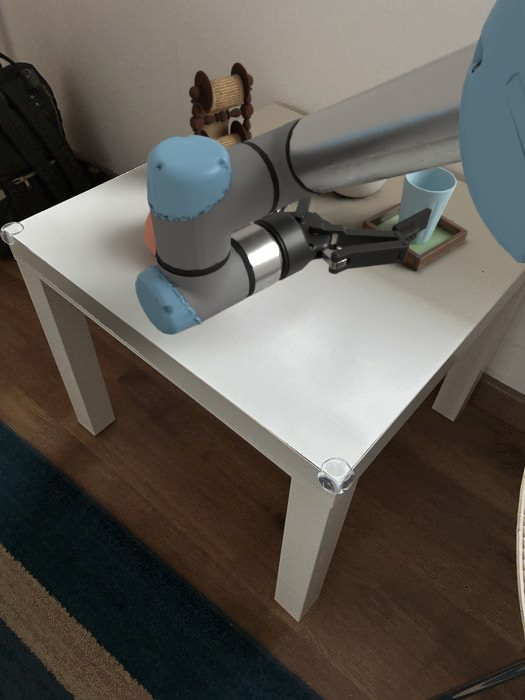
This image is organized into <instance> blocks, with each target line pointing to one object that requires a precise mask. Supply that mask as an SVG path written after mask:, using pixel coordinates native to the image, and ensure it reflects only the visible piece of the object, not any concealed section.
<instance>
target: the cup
mask: <svg viewBox="0 0 525 700" xmlns="http://www.w3.org/2000/svg"><path fill="white" fill-rule="evenodd" d="M457 183H458V182H457V178H456V177H455V175H454V173H452V172H451V171H449V170H448V169H445V168H443V167H442V166H441V167H437V168H432V169H428V170H423V171H419V172H415V173H410V174H406V175H404V178H403V185H402V187H403V188H402V192H401V198H400V202H401V205H400V212H399V219H398V223H399V222H401V221H403V220H404V219H406V218H408V217H410V216H412V215H414V214H416V213H418V212H420V211H422V210H424V209H425V208H427V207H428V208H429V209H431V210H432V212H431V215H430V219H429V222H428V225H427V228H426V229H424V230H422V231H420V232H418V234H417V237H416V239H415V240H413V241H411V242H409V243H411V244H423V243H426V242H427V241H428V240H429V239H430V237H431V235H432V233H433V231H434V229H435V227H436V225H437V223H438V221H439V219H440V217H441V215H442V216H443V212H444V210H445V208H446V206H447V204H448V202H449V200H450V199H451V197H452V194H453V192H454V191H455V189H456V187H457Z"/></svg>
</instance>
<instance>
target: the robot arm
mask: <svg viewBox="0 0 525 700" xmlns="http://www.w3.org/2000/svg"><path fill="white" fill-rule="evenodd" d="M481 28H482V29H481V30H480V35H479V38H478V39H477V40H476V41H474V42H472V43H469V44H467V45H464V46H462V47H460V48H457V49H455V50H453V51H450V52H449V53H446V54H444V55H442V56H439V57H437V58H435V59H432V60H430V61H428V62H426V63H422V64H421V65H419V66H416V67H414V68H411V69H410V70H409V69H408V70H407V71H404V72H403V73H400V74H398V75H396V76H393V77H391V78H389V79H387V80H384V81H382V82H380V83H377V84H375V85H372V86H370V87H368V88H365V89H364V90H361V91H358V92H356V93H355V94H352V95H350V96H347V97H345V98H342V99H340V100H339V101H336V102H334V103H331V104H329V105H327V106H325V107H322V108H320V109H317V110H315V111H313V112H310V113H308V114H307V115H305V116H302V117H299V118H296V119H293V120H292V121H290V122H287V123H284V124H283V125H280V126H278V127H276V128H273V129H271V130H268V131H265V132H263V133H261V134H259V135H256V136H254V137H252V138H251V139H249V140H247V141H244V142H241V143H238V144H235V145H232V146H230V147H227V148H224V147H223V146H222V145H221V144H220V143H219V142H217V141H215V140H213V139H211V138H208V137H204V136H199V135H194V134H189V135H187V136H178V135H176V136H171V137H168V138H166V139H164V140H162V141H160V142H159V143H157V144H156V145H155V146H154V147H153V148H152V149H151V150H150V152H149V154H148V156H147V158H146V176H145V179H146V200H147V204H148V207H149V212H150V213H151V219H152V225H153V231H154V236H155V242H156V253H155V255H154V256H155V264H151V265H149V266H148V267H147V268H146V269H144V270H142V271H140V272H139V273H138V274H137V276H136V280H135V283H134V287H135V288H134V289H135V293H136V296H137V299H138V302H139V304H140V306H141V308H142V310H143V312H144V314H145V316H146V317H147V319H148V320H149V322H150V323H151V324H152V326H154V327H155V328H156V330H157V331H159V332H161V333H162V334H165V335H170V336H172V335H176V334H179V333H181V332H184V331H186V330H188V329H191V328H192V327H195V326H197V325H198V326H199V325H202V324H203V322H205V321H207V320H208V319H210V318H213V317H214V316H217V315H218V314H220V313H222V312H223V311H225V310H226V311H227V309H229V308H232V307H234V306H235V305H237V304H239V303H241V302H243V301H244V300H246V299H248V298H249V297H252V296H254V295H256V294H257V293H260V292H262V291H264V290H265V289H267V288H270V287H271V286H274V285H275V284H276V283H277V282H279V281H284V280H285V279H287V278H289V277H291V276H292V275H295V274H296V273H299V272H300V271H302V270H303V269H305V267H306V266H307V265H309V264H310V263H311V262H312V261H315V260H316V261H317V260H323V261H324V262H325V263H326V264H327V265H328V270H327V271H328V272H329V274H332V275H337V274H339V273H341V272H344V271H347V270H350V269H360V268H367V267H376V266H384V265H392V264H402V263H404V262H405V259H406V256H407V253H408V250H409V246H410V243H409V242H411V241H413V240H415V239H416V237H417V234H418V232H420V231H422V230H424V229H426V228H427V225H428V222H429V219H430V215H431V212H432V210H431V209H429V208H428V207H427V208H425V209H424V210H422V211H420V212H418V213H416V214H414V215H412V216H410V217H408V218H406V219H404V220H403V221H401V222H399V223H397V224H395V225H393V227H392V231H390V230H368V229H362V228H347V227H345V226H344V225H343V224H337V223H336V224H333V223H331V222H330V221H328V220H326V219H324V218H322V217H321V215H320V214H318V212H316V211H314V212H311V211H309V210H310V205H311V200H312V197H319V196H322V195H324V194H327V193H331V192H335V191H336V190H340V189H344V188H349V187H353V186H357V185H362V184H366V183H371V182H375V181H379V180H384V179H386V180H388V179H392V178H393V179H394V178H397V177H401V176H405V175H406V174H410V173H415V172H419V171H423V170H428V169H432V168H437V167H441V168H442V167H445V166H449V165H453V164H458V163H461V165H462V171H463V175H464V180H465V183H466V186H467V190H468V193H469V195H470V198H471V200H472V202H473V205H474V207H475V210H476V212H477V213H478V215H479V217H480V219H481V220H482V222H483V224H484V225H485V227H486V228H487V230H488V231H489V233H490V234H491V236H492V237H493V239H494V240H495V241H496V242H497V243H498V244H499V246H500V247H501V248H502V249H503V250H504V251H505V252H506V253H507V254H508V255H509V256H510V257H512V258H513V259H514V261H516V263H518V264H519V263H521V264H525V0H496V1H495V2H494V3H493V6H492V8H491V10H490V11H489V12H488V15H487V17H486V20H485V22H484V23H483V26H482V27H481ZM295 202H296V203H297V206H296V209H295V211H285V210H286V209H287V207H288V206H289V205H291V204H294V203H295ZM333 235H336V239H335V243H332V241H333Z"/></svg>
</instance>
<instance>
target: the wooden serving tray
mask: <svg viewBox="0 0 525 700" xmlns="http://www.w3.org/2000/svg"><path fill="white" fill-rule="evenodd" d="M400 205H401V201H400V202H399V203H396V204H394V205H392V206H390V207H389V208H387V209H385V210H383V211H381V212H379V213H376V214H375V215H372V216H371V217H368V218H367V219H365V220H363V221H362V225H361V229H368V230H390V231H392V227H393V225H395V224H397V223H398V219H399V212H400ZM468 233H469V230H467V229H465V228H464V227H462V226H461V225H459V224H458V223H456V222H454V221H453V220H451V219H449V218H447V217H446V216H444V215H443V214H442V215H441V217H440V219H439V221H438V223H437V225H436V227H435V229H434V231H433V233H432V235H431V237H430V239H429V240H428V241H427V242H426V243H423V244H411V243H410V246H409V250H408V253H407V256H406V259H405V262H403V264H406V265H407V266H409V267H410V268H412V269H413V270H414V271H416V272H418V271H419V270H421V269H423V268H424V267H426V266H428V265H429V264H431V263H432V262H434V261H436V260H438V259H439V258H441V257H442V256H444V255H446V254H447V253H450V252H452V250H454V249H456V248H457V247H459V246H460V245H462V244H464V243H465V241H466V238H467V235H468Z"/></svg>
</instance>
